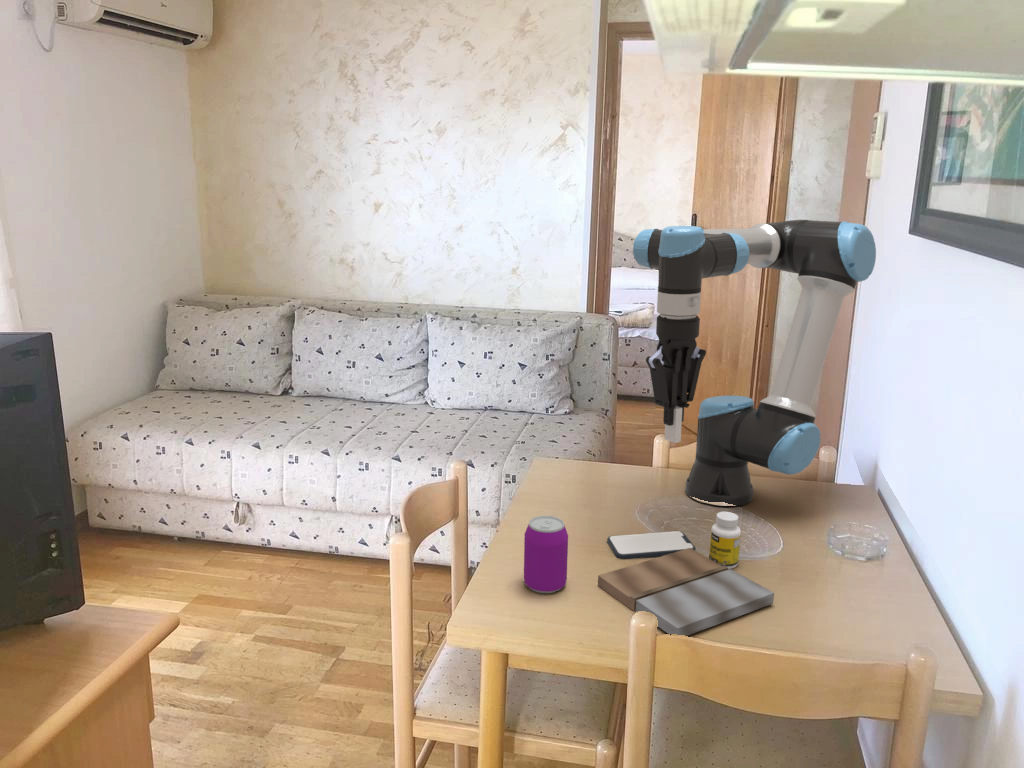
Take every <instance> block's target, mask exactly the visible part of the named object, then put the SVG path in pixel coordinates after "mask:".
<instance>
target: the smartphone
mask: <svg viewBox="0 0 1024 768" xmlns="http://www.w3.org/2000/svg"><path fill="white" fill-rule="evenodd" d="M606 543H607V545H608V546H609V548H610V550H611V551H612V553H613V554H614V557H616V559H619V560H635V559H651V558H652V559H654V558H658V557H661V556H664V555H668V554H671V553H674V552H678V551H681V550H684V549H688V548H691V549H693V550H695V551H696V546H695V545H694V544H693V542H692V541H691V540H690V539H689V538H688V537H687V535H686V534H685V533H684V532H683V531H680V530H671V531H661V532H660V531H657V532H645V533H633V534H632V533H630V534H621V535H619V534H618V535H617V534H616V535H610V536H608V537H607V538H606Z"/></svg>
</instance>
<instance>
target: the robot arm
mask: <svg viewBox="0 0 1024 768" xmlns="http://www.w3.org/2000/svg"><path fill="white" fill-rule="evenodd" d="M632 246H633V247H632V255H633V258H634V260H635V262H636V263H637V264H638V265H639V266H641V267H646V268H649V269H650V270H651V269H652V270H653V269H657V270H658V285H657V302H656V313H657V314H659V315H658V316H656V325H655V327H656V328H655V329H656V331H655V333H656V334H655V335H656V336H657V339H658V342H657V346H656V352H655V353H654V354H653V355H652V356H650V355H649V356H647V357H645V362H646V364H647V367H648V368H649V370H650V371H649V372H650V378H651V386H652V391H653V398H654V404H655V405H657V406H660V407H663V419H662V420H663V424H664V440H666V441H669V442H671V443H674V444H676V443H681V442H682V441H681V440H682V424H683V422H684V417H685V409H687V408H689V407H690V403H692V402H693V401H694V398H695V394H696V389H697V385H698V379H699V376H700V371H701V367H702V364H703V363H702V362H703V360H704V358H705V357H706V355H707V350H705V349H702V348H700V347H698V345H697V343H698V342H697V341H696V339H697V338H698V337H699V336H700V335H699V334H700V323H701V322H700V317H699V314H700V313H701V297H702V295H701V294H702V285H703V284H702V283H703V282H702V281H703V279H708V278H715V277H723V276H725V277H728V276H729V275H733V274H736V273H739V272H741V271H742V270H743V269H744V268H745V267H746V266H747V265H750V266H751V267H753V268H757V269H772V270H777V271H782V272H787V273H792V274H798V275H797V281H798V283H799V285H800V286H801V290H800V294H799V297H798V300H797V304H796V308H795V311H794V314H793V316H792V317H793V318H792V320H791V324H790V328H789V330H788V333H787V337H786V340H785V344H784V347H783V351H782V354H781V357H780V359H779V360H780V361H779V363H778V366H777V370H776V374H775V377H774V380H773V384H772V387H771V390H770V392H769V395H768V396H767V397H765V398H762V399H761V400H760V401H759V404H758V408H755V407H754V406H755V401H754V399H753V398H751V397H749V396H743V395H719V396H718V395H717V396H710V397H707V398H706V399H704V400H703V401H701V403H700V406H699V411H698V415H697V431H696V432H697V433H696V447H695V458H694V463H693V465H692V467H691V469H690V472H689V475H688V476H687V478H686V481H685V489H684V491H685V494H686V495H687V496H688V497H689V496H691V497H695V498H698V499H700V500H704V501H708V502H725V503H728V504H733V505H739V506H738V507H741V506H740V505H742V506H744V505H748V504H749V503H751V502H752V501H753V499H754V498H753V496H754V486H753V484H752V482H751V476H750V474H751V473H750V471H749V465H748V464H749V463H751V464H754V465H756V466H759V467H762V468H765V469H768V470H770V471H771V472H776V473H781V474H786V475H797V474H799V473H801V472H802V471H805V469H806V468H808V467H809V466H810V464H811V463H812V462H813V460H814V459H815V457H816V455H817V453H818V451H819V448H820V445H821V437H820V436H821V430H820V428H819V427H818V426H817V425H816V424H815V420H816V417H817V416H816V414H815V412H814V411H813V409H812V404H813V402H814V399H815V398H814V397H815V394H816V391H817V388H818V384H819V380H820V377H821V374H822V371H823V368H824V364H825V360H826V357H827V355H828V351H829V349H830V345H831V342H832V339H833V335H834V331H835V329H836V324H837V322H838V318H839V315H840V312H841V310H842V305H843V304H844V303H843V302H844V299H845V298H846V297H847V296H848V295H851V294H852V293H854V292H855V288H856V286H857V283H859V282H860V283H861V282H863V281H866V280H868V279H869V277H870V276H871V275H872V273H873V271H874V268H875V265H876V258H877V249H876V248H877V247H876V242H875V237H874V235H873V233H872V231H871V230H870V228H868V227H867V226H865V225H864V224H862V223H856V222H855V223H854V222H849V221H846V220H845V221H828V220H827V221H826V220H813V219H812V220H811V219H809V220H808V219H794V220H793V219H791V220H784V221H777V222H774V221H773V222H767V223H756V224H754V225H752V226H750V227H749V228H709V229H708V228H704V229H703V228H702V227H701V226H697V225H696V226H695V225H671V226H666V227H664V228H663V229H659V228H647V229H643V230H641V231H640V232H639V233H638V234H637V235H636V237H635V239H634V242H633V244H632ZM689 402H690V403H689ZM747 503H748V504H747Z"/></svg>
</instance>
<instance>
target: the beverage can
mask: <svg viewBox="0 0 1024 768" xmlns="http://www.w3.org/2000/svg"><path fill="white" fill-rule="evenodd" d="M523 539H524V540H523V541H524V542H523V543H524V545H523V547H524V549H523V550H524V551H523V552H524V553H523V580H524V584H525V585H526V586H527V587H528V588H529V589H530V590H531V591H533V592H536V593H539V594H554V593H556V591H557V592H558V591H560V590H561V589H563V588H564V587H565V586H566V584H567V578H568V576H567V575H568V551H569V534H568V531H567V528H566V526H565V522H564V520H563V519H561V518H560V517H557V516H552V515H538V516H535V517H532V518H531V519H530V520H529V522H528V525H527V527H526V530H525V531H524V538H523ZM553 592H554V593H553Z"/></svg>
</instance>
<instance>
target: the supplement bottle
mask: <svg viewBox="0 0 1024 768" xmlns="http://www.w3.org/2000/svg"><path fill="white" fill-rule="evenodd" d="M738 525H739V515H737V514H736V513H735V512H734V513H733V512H730V511H720V512H718V513H716V516H715V523H714V524H713V525H711V530H710V542H709V550H708V551H709V552H708V553H709V555H708V558H709V559H711V560H713V561H714V562H716V563H718V564H720V565H721V566H726V567H728V570H729V569H731V570H733V569H734V568H736V567H737V566H738V565H739V557H740V548H741V547H740V545H741V536H742V531H741V528H740V527H739V526H738Z"/></svg>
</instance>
